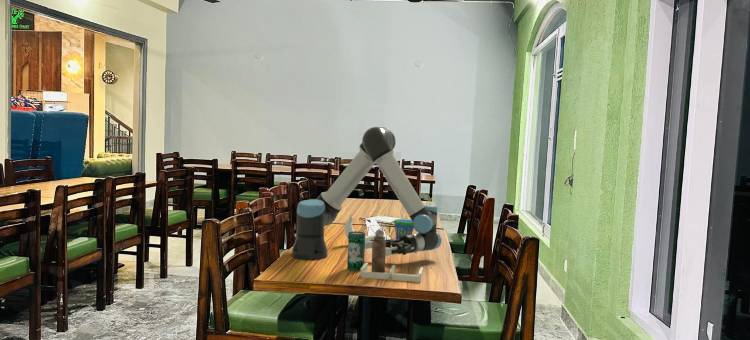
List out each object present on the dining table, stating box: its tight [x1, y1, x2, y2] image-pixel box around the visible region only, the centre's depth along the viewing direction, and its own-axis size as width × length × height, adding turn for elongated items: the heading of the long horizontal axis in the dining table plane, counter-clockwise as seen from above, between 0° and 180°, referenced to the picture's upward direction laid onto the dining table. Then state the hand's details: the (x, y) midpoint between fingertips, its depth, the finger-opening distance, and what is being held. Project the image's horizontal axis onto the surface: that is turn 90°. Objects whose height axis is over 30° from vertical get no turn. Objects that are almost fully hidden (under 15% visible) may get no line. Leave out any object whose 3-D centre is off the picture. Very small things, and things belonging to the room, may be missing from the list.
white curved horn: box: [344, 214, 385, 242], centre depth 262 cm, size 5×19×15 cm, turn 93°
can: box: [346, 230, 366, 272], centre depth 212 cm, size 6×6×15 cm
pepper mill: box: [370, 229, 387, 273], centre depth 204 cm, size 5×5×17 cm
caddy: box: [359, 262, 424, 283], centre depth 203 cm, size 22×10×4 cm, turn 81°
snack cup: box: [388, 218, 419, 240], centre depth 278 cm, size 16×10×10 cm
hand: (372, 249), depth 217 cm, fingers open, 13 cm apart
